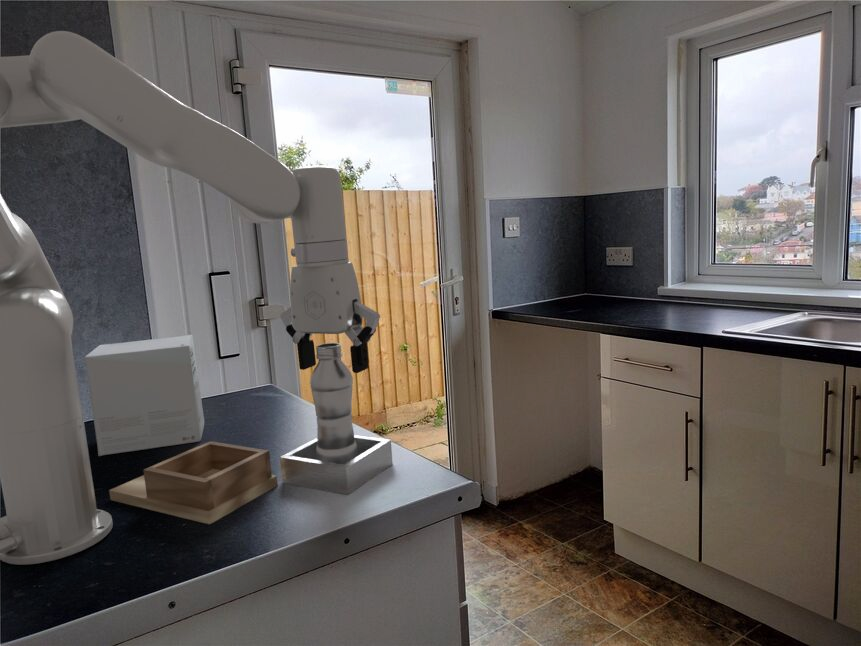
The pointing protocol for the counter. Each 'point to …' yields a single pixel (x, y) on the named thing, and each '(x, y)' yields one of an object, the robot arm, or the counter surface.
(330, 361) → the plastic bottle
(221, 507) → the wooden tray
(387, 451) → the holder
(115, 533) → the counter surface
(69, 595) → the counter surface
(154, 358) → the supplement box
